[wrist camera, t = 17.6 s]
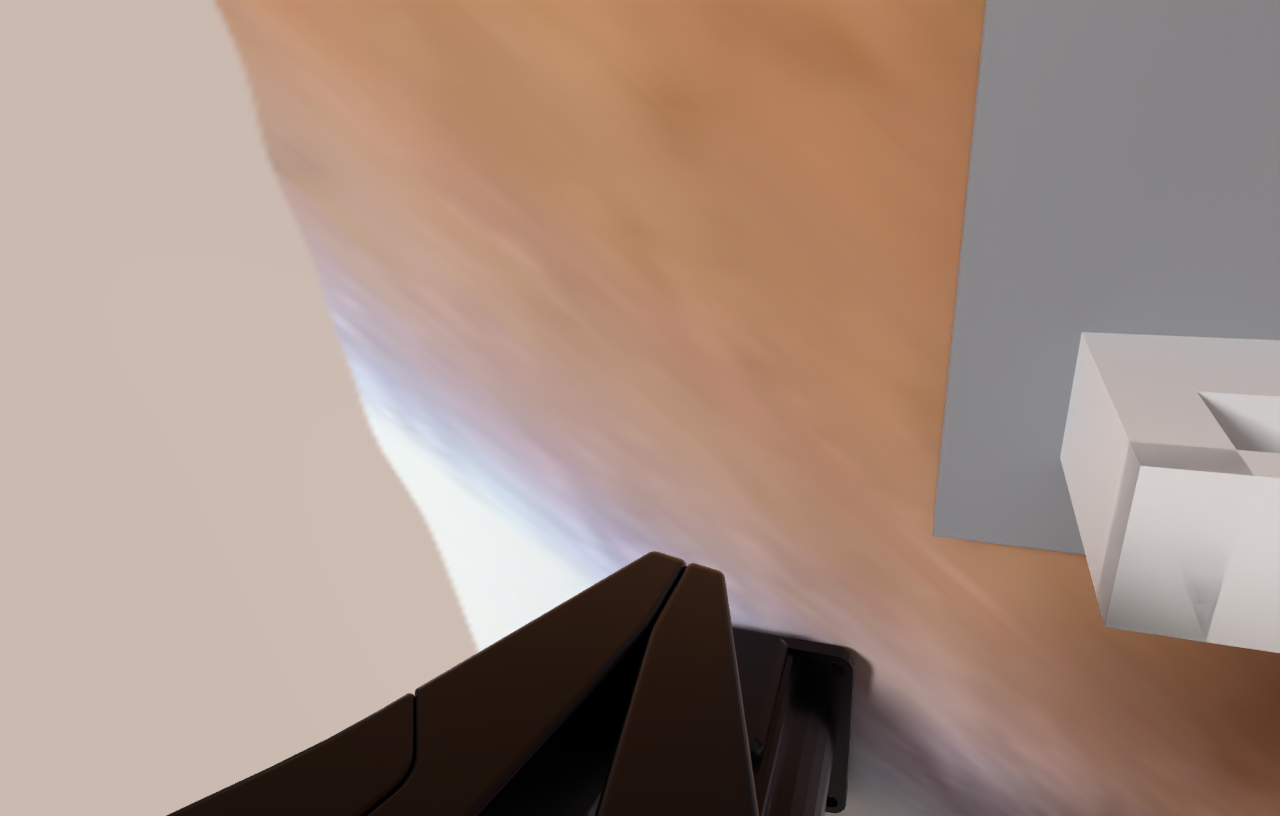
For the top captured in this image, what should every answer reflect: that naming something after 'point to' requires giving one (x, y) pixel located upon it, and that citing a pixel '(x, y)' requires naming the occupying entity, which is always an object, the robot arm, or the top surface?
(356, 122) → the top surface
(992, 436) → the mounting plate
